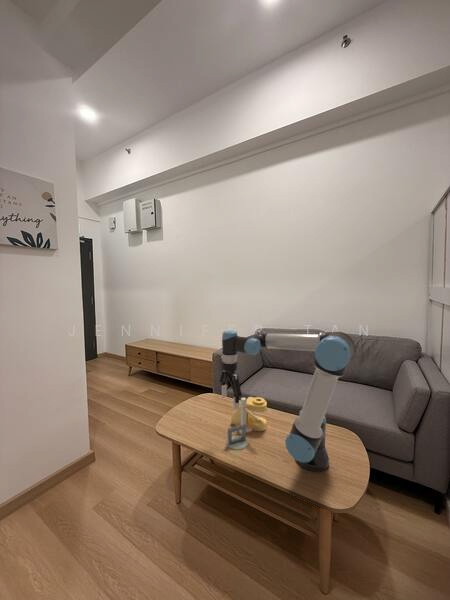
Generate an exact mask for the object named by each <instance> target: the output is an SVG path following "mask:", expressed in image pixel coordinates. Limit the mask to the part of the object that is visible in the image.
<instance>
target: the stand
mask: <svg viewBox="0 0 450 600" xmlns="http://www.w3.org/2000/svg"><path fill="white" fill-rule="evenodd" d="M247 399H248V398H246V397H240V407H241V425H243V424H245V425H246V413H248V414H249V415H251V416H252V417H253V418H254V419H255V420H256V421H257V422H258V423H260V420H259V419H258V418H257V417H256V416H257V415H255V414H254V415H253V414H252V413H251V412H250V411H249V410H248V409H247ZM236 426H240V425H234V427H236ZM238 432H239V434H241V435H242V430H239V431H238ZM250 432H253V430H252V429H251V428H249V427H246V434H247V433H250Z"/></svg>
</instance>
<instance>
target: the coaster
mask: <svg viewBox="0 0 450 600" xmlns="http://www.w3.org/2000/svg"><path fill="white" fill-rule="evenodd" d="M239 437H242V435H238V434H237V435H232V440H233V439H236V438H239ZM248 445H249V444H248V439H246V440H245V441H242V442H239V443H236V444H232V445H228V438H227V440H226V446H227V447H228V448H230V449H232V450H235V451H240V450H243V449H245V448H247V446H248Z"/></svg>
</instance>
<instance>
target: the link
mask: <svg viewBox="0 0 450 600" xmlns="http://www.w3.org/2000/svg"><path fill="white" fill-rule="evenodd" d="M235 426H236V427H235ZM235 426H233V427H230V428H227V439H228V445H232V444H236V443H239V442H242V441H245V440H247V433H246V425H245V424H243V425H240V426H237V425H235ZM239 430H242V434H241V436H242V437H239V438H236V439H233V440H232V436H233V434H232V433H235V432H239Z"/></svg>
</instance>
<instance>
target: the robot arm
mask: <svg viewBox="0 0 450 600" xmlns="http://www.w3.org/2000/svg"><path fill="white" fill-rule="evenodd" d="M221 338H222V340H221V341H222V342H221V345H222V353H221V357H222V359H221V360H222V366H221V373H220V378H219V383H220V385H221V398H227V397H228V396H227V395H228V393H227V392H228V385H227V384H228V383H227V382H229V384H230V385H231V389H232V393H233V395H232V399H233V402H232V403H233V404H232V405H233V410H238V409H239V408H240V397H242V396H243V395H242V390H241V385H240V379H239V374H236V373H235V372H236V371H237V370H238V353H240V354H241V353H242V354H247V355H252V356H253V355H254V356H255V355H258V354H259V352H260V351H261V349H276V350H278V349H279V350H289V351H291V350H292V351H304V352H305V351H307V352H314V355H315V356H314V359H313V365H314V367H315V370H314V373H313V376H312V379H311V382H310V385H309V388H308V390H307V394H306V397H305V400H304V403H303V406H302V409H300V411H299V413H298V416H297V417H295V418H294V421H293V424H292V427H291V429H290V432H289V434H288V435H287V436H286V437H285V443H284V444H285V448H286V451H288V453H289V455H290V456H291V457H292V458H293V459H294V460H295V461H296V463H297V464H298V465H299V466H300V467H301V468H304V469H305V470H307V471H311V472H323V471H325V470H327V469H328V468H329V466H330V458H329V455H328V451H327V448H326V432H327V431H326V430H327V426H326V425H327V418H326V414H327V413H326V412H327V410H328V407H329V406H330V402H331V399H332V397H333V393H334V390H335V389H336V386H337V383H338V380H339V378H341V377H344V376H345V373H346V372H347V368H348V365H349V363H350V361H351V358H352V356H353V355H354V353H355V351H356V350H355V349H356V345H355V342H354V339H353V338H352V337H351V336H350V335H349V334H348V333H345V332H342V331H327V332H326V331H320V332H319V334H316V333H315V334H313V333H312V334H311V333H310V334H309V333H308V334H307V333H271V332H270V333H268V332H264V331H262V332H261V331H260V332H257V333H255V334H253V335H252V334H251V335H250V336H239V335H238V331H236V330H225V331H223V332H222V337H221Z"/></svg>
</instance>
